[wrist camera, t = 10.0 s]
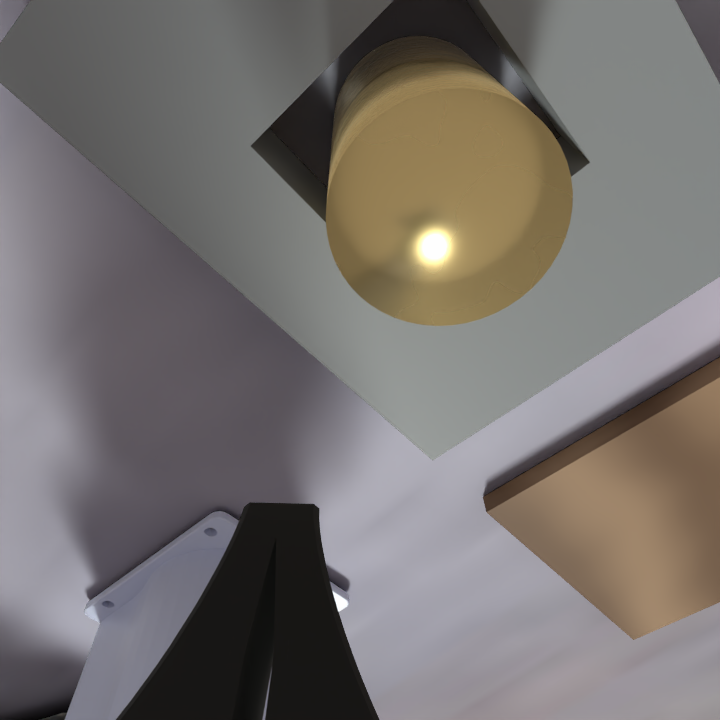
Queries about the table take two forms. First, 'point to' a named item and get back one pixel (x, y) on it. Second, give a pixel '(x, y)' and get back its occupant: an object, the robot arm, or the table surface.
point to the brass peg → (441, 186)
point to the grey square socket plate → (309, 196)
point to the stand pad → (631, 508)
